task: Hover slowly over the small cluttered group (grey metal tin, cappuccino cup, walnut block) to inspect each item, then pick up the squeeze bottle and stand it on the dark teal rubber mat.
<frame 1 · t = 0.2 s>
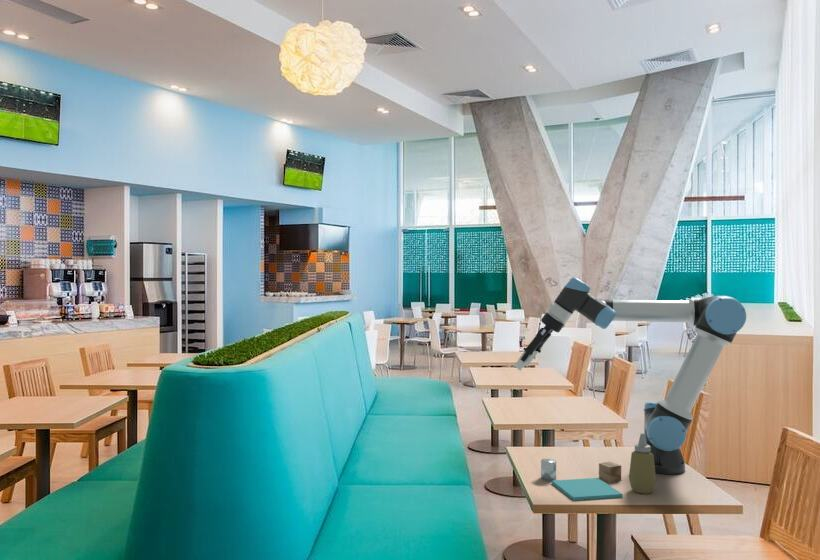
hand: (520, 366, 226), 35 cm above the table, tool tilted 35°, fingers open, 13 cm apart
grey metal tin: (548, 478, 213), on the table
squeeze bottle: (642, 491, 200), on the table
teal mat: (586, 490, 201), on the table
walnut block: (610, 479, 212), on the table
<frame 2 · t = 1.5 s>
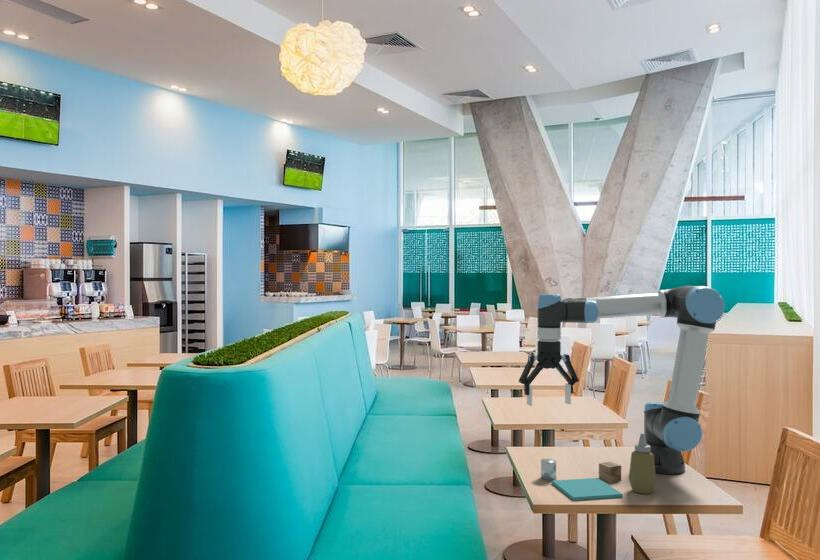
hand: (548, 404, 213), 25 cm above the table, tool pointing down, fingers open, 13 cm apart
nothing on the table moved.
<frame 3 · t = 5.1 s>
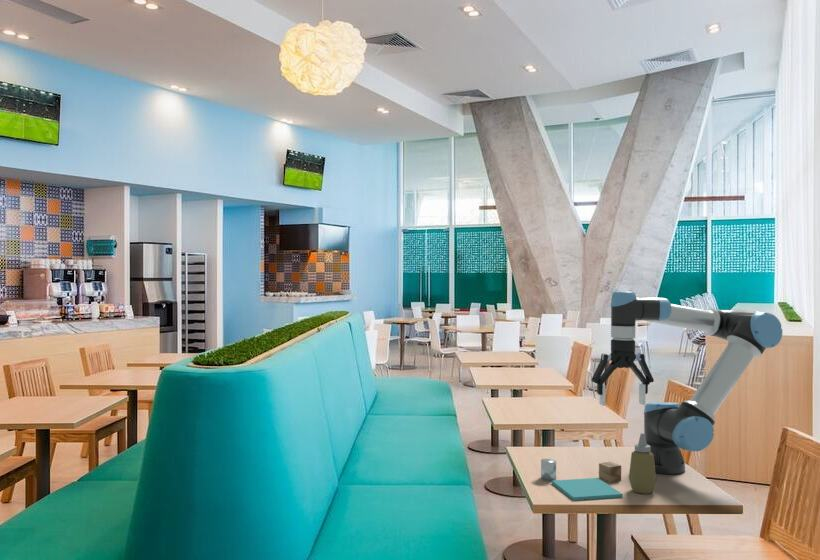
hand: (622, 404, 207), 26 cm above the table, tool pointing down, fingers open, 13 cm apart
nothing on the table moved.
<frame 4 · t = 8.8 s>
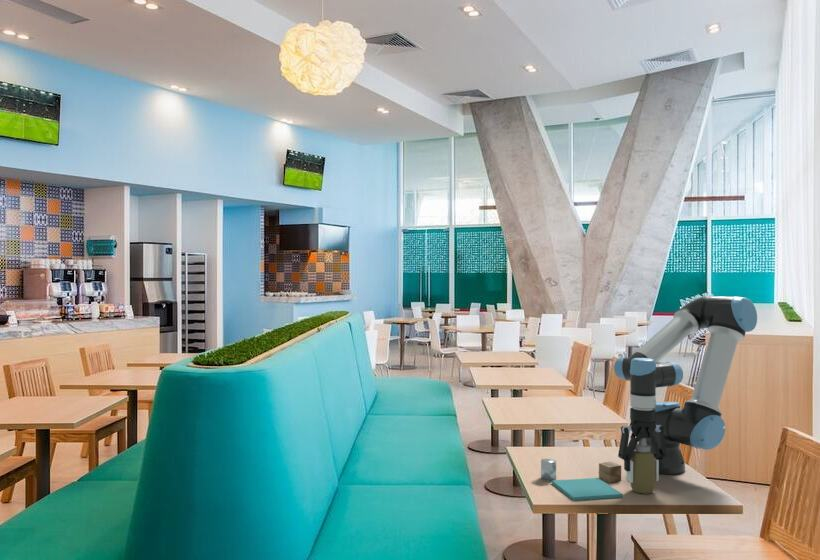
hand: (642, 480, 200), 3 cm above the table, tool pointing down, fingers closed on squeeze bottle, 8 cm apart
squeeze bottle: (642, 491, 200), on the table, touching gripper
everything else where it was.
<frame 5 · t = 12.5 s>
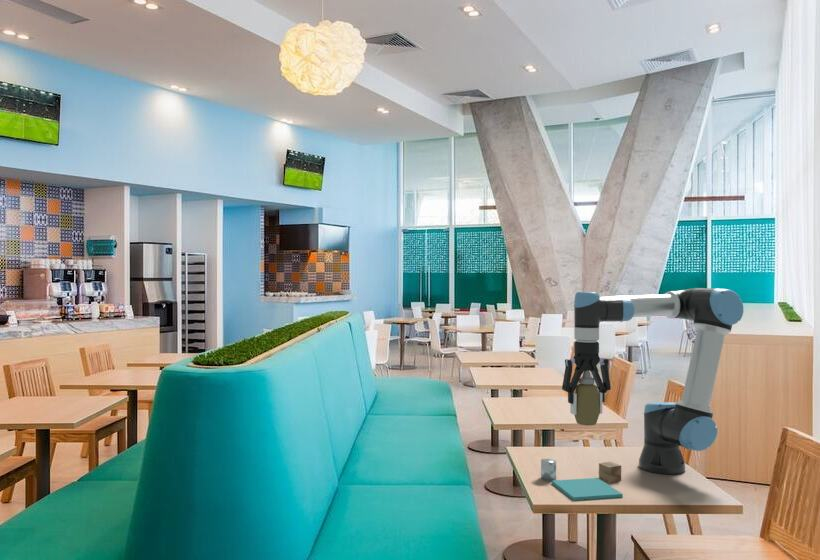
hand: (586, 413, 201), 24 cm above the table, tool pointing down, fingers closed on squeeze bottle, 8 cm apart
squeeze bottle: (586, 424, 201), point 21 cm above the table, touching gripper
everything else where it was.
when the fingers open (6 cm above the table, at t = 16.2 s): squeeze bottle drops 1 cm, resting on teal mat.
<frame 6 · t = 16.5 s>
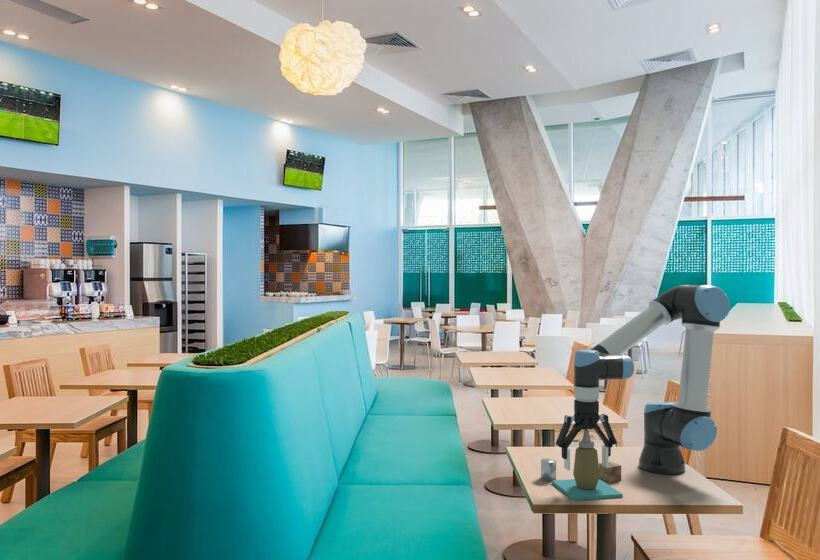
hand: (586, 467, 201), 7 cm above the table, tool pointing down, fingers open, 12 cm apart
squeeze bottle: (586, 487, 201), point 1 cm above the table, touching teal mat
everything else where it was.
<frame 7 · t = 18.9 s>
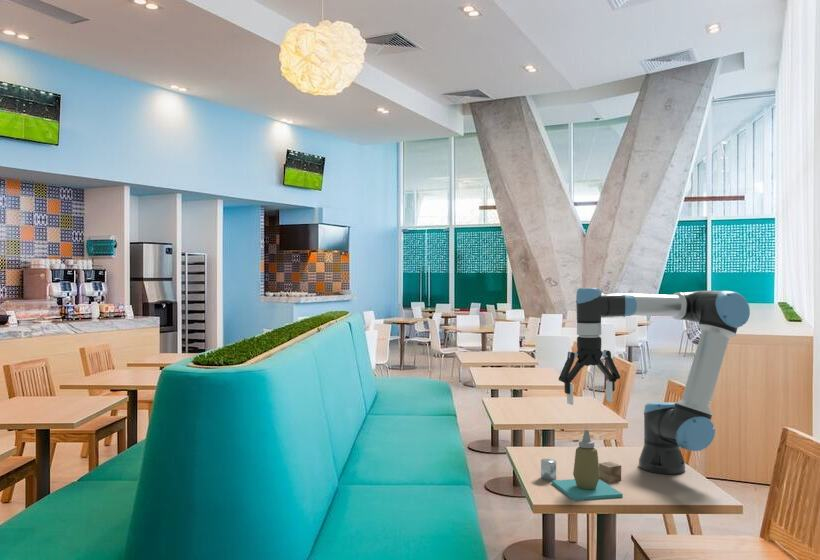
hand: (589, 402, 204), 27 cm above the table, tool pointing down, fingers open, 13 cm apart
nothing on the table moved.
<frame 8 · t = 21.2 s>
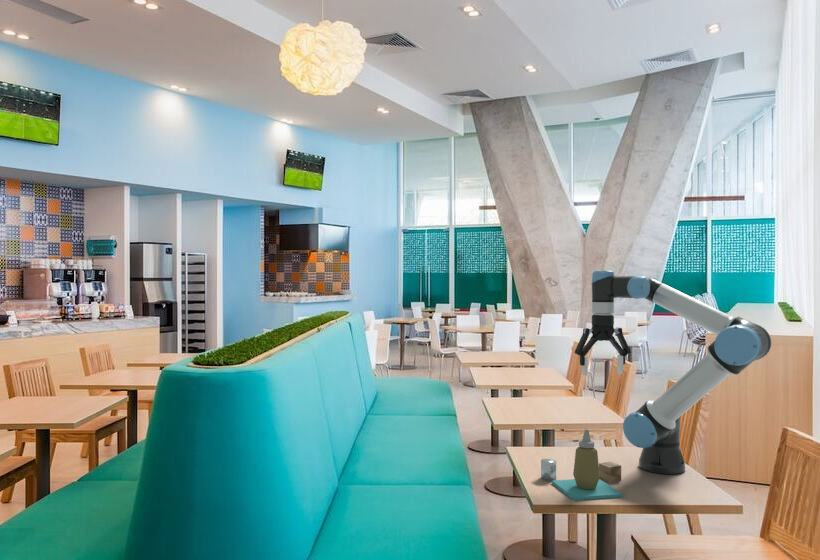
hand: (602, 374, 226), 33 cm above the table, tool pointing down, fingers open, 13 cm apart
nothing on the table moved.
at the end: squeeze bottle inside the target area on the teal mat (0.1 cm from its centre), point 0.8 cm above the teal mat's base; squeeze bottle tilted 0°; the gripper is holding nothing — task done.
